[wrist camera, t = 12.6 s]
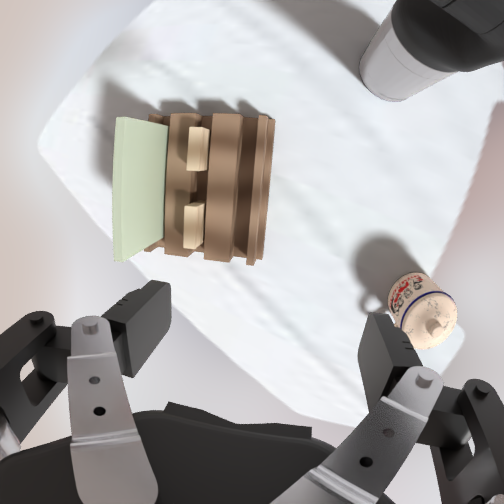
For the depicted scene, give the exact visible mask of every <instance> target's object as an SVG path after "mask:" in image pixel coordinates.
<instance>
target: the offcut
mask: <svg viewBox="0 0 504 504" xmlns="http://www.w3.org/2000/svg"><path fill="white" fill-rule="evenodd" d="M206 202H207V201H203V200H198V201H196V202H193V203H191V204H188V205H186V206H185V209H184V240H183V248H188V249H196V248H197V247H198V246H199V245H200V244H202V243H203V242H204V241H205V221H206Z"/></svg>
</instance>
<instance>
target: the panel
mask: <svg viewBox="0 0 504 504" xmlns="http://www.w3.org/2000/svg"><path fill="white" fill-rule="evenodd" d="M169 129H170V126H166V125H162V124H157V123H153V122H149V121H144V120H139V119H135V118H130V117H116V126H115V139H114V155H113V184H112V222H113V250H114V261H118V262H124V261H126V260H127V259H129V258H130V257H132V256H134V255H135V254H137V253H138V252H140V251H142V250H143V249H145V248H147V247H148V246H150V245H152V244H153V243H155V242H157V241H158V240H160V239H162V238H163V237H165V197H166V174H167V156H168V142H169Z"/></svg>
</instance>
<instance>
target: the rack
mask: <svg viewBox="0 0 504 504" xmlns="http://www.w3.org/2000/svg"><path fill="white" fill-rule="evenodd" d="M148 121H149V122H153V123H157V124H162V125H166V126H170V129H169V142H168V156H167V174H166V197H165V237H163V238H162V239H160V240H158V241H157V242H155V243H153V244H152V245H150V246H148V247H147V248H145V249H144V251H146V252H151V251H152V250H154V249H155V248H157V247H164V248H165V254H168V255H175V256H183V257H188V256H190V255H191V254H192V253H193V252H194V251H196V252H204V259H205V260H213V261H221V262H230V260H231V259H232V257H233V256H236V257H244V258H247V261H246V265H252V266H254V263H255V261H256V259H260V260H262V258H263V250H264V240H265V230H266V219H267V209H268V198H269V187H270V176H271V165H272V154H273V143H274V131H275V119H269V118H268V117H267V116H265V115H259V118H248V117H243V116H242V115H241V114H227V113H213V116H201V115H199V114H197V113H171V116H161V115H157V114H149V119H148ZM190 127H203V128H206V129H209V130H212V131H211V144H210V157H209V170H204V171H188V170H187V154H188V141H189V128H190ZM198 200H203V201H207V202H206V221H205V241H204V242H203V243H202V244H200V245H199V246H198V247H197V248H196V249H188V248H183V240H184V209H185V206H186V205H188V204H191V203H193V202H196V201H198Z"/></svg>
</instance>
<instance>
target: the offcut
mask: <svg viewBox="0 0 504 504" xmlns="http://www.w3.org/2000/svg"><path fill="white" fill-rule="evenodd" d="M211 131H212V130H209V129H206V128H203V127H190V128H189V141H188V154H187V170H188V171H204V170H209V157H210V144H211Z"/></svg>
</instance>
